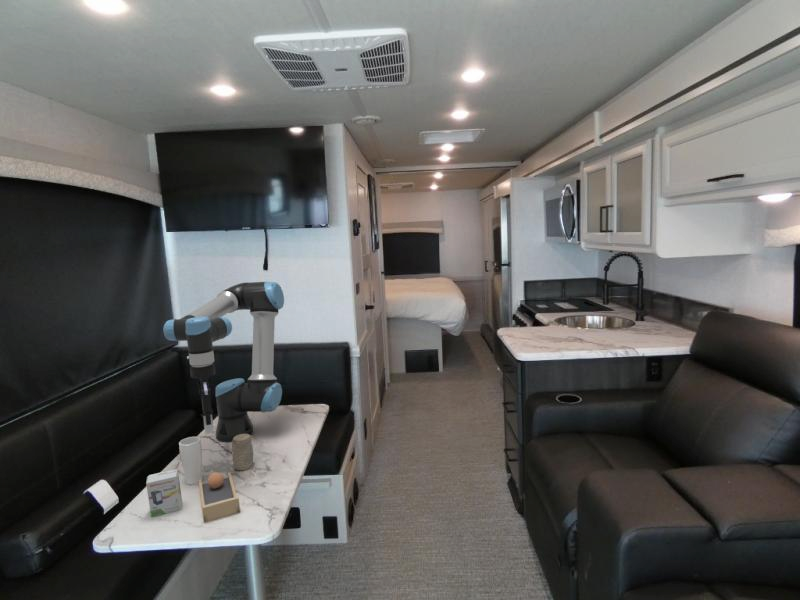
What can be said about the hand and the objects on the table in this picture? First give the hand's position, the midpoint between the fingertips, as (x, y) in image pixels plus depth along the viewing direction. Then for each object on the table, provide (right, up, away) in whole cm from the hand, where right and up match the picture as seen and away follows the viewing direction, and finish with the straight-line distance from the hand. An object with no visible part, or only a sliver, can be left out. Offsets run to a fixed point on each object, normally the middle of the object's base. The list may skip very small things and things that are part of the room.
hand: (209, 432), depth 157 cm
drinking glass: (-6, -18, +3) cm, 19 cm away
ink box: (-7, -20, -14) cm, 26 cm away
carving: (+8, -16, +11) cm, 21 cm away
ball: (+3, -17, -3) cm, 18 cm away
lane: (+6, -19, -9) cm, 22 cm away
